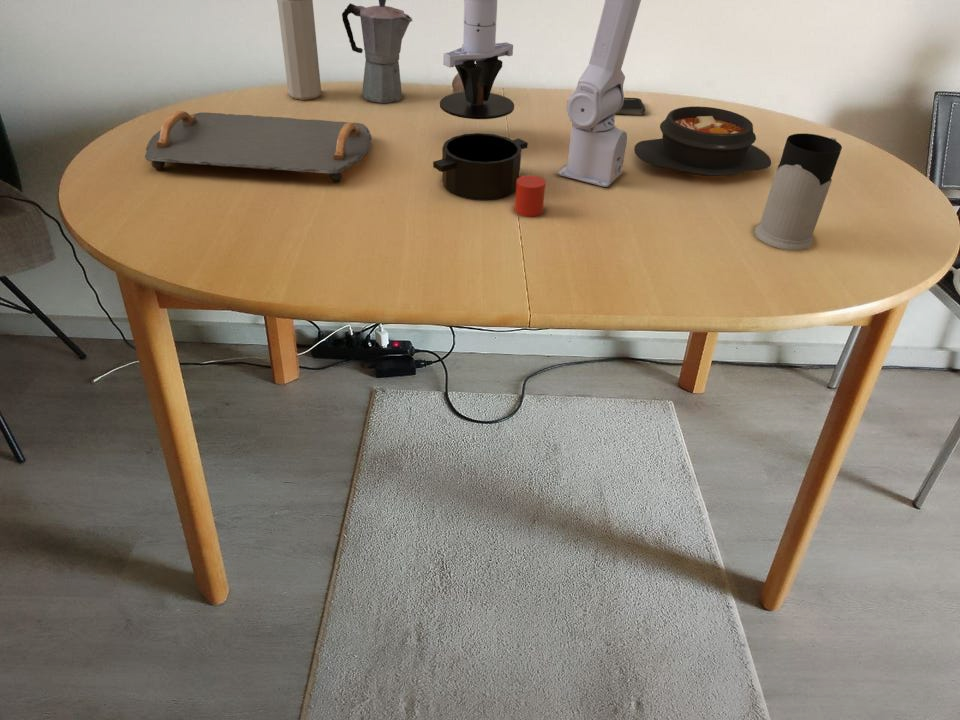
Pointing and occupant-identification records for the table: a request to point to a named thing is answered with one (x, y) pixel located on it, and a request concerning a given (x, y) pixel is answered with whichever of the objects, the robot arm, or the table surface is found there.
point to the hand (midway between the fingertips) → (477, 100)
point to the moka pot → (380, 49)
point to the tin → (529, 195)
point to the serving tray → (259, 143)
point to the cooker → (480, 165)
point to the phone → (632, 107)
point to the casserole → (704, 143)
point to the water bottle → (300, 48)
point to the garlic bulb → (457, 84)
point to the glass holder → (798, 191)
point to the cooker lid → (477, 105)
